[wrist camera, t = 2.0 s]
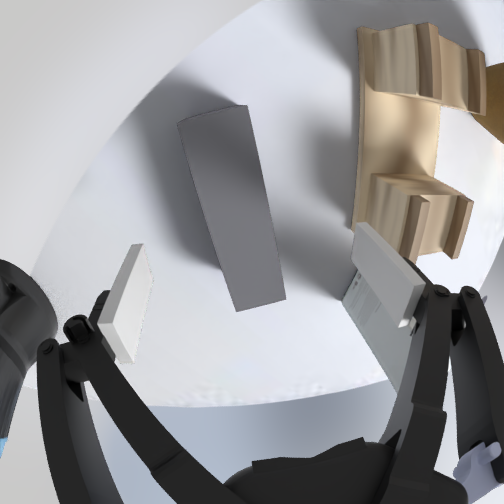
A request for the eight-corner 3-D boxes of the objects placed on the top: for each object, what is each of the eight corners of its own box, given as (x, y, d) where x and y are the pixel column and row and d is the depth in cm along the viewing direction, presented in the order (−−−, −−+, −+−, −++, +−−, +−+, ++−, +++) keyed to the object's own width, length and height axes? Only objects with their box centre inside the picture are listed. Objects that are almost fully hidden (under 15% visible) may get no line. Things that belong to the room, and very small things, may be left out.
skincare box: (339, 301, 33) (391, 399, 21) (360, 261, 30) (429, 358, 18) (386, 304, 35) (438, 385, 23) (406, 269, 32) (471, 348, 20)
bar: (230, 272, 29) (236, 312, 24) (185, 118, 20) (176, 123, 15) (272, 262, 29) (286, 299, 24) (238, 105, 20) (247, 105, 15)
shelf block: (350, 229, 28) (392, 276, 21) (356, 28, 17) (413, 10, 10) (419, 223, 29) (463, 260, 22) (433, 52, 18) (491, 53, 11)
